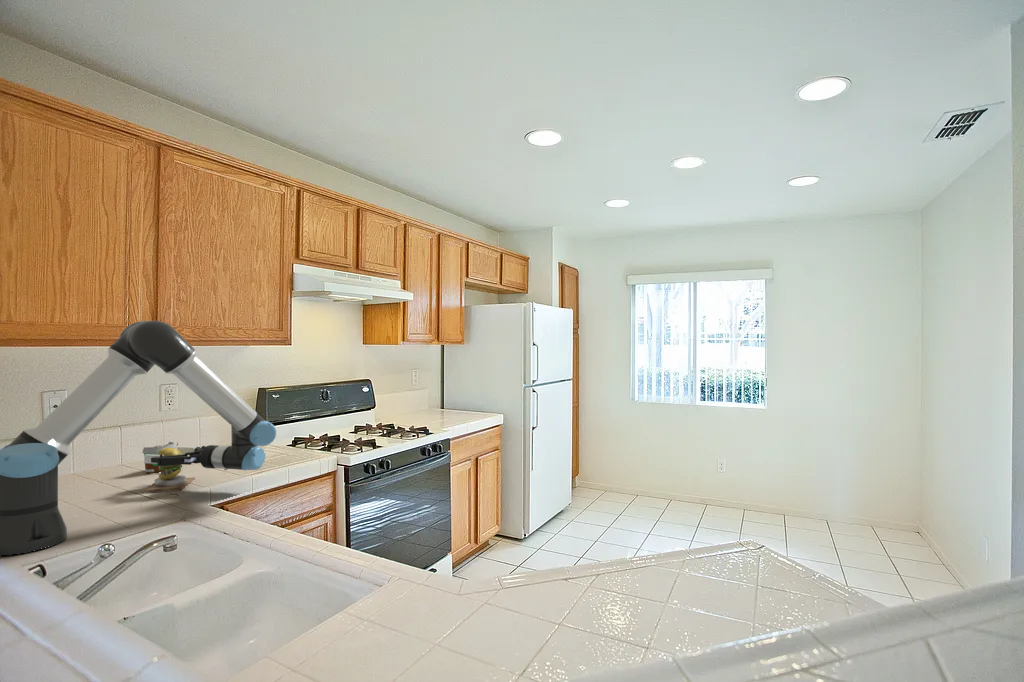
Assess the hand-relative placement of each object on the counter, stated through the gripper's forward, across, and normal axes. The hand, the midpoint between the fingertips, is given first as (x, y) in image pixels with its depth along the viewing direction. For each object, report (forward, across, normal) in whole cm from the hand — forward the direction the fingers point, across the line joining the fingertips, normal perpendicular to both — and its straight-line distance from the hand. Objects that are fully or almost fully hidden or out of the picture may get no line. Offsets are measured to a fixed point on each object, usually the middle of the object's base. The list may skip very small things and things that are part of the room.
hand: (162, 454), depth 183 cm
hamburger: (-3, 0, -8) cm, 9 cm away
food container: (+16, +18, -11) cm, 26 cm away
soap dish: (-3, 0, -11) cm, 11 cm away
